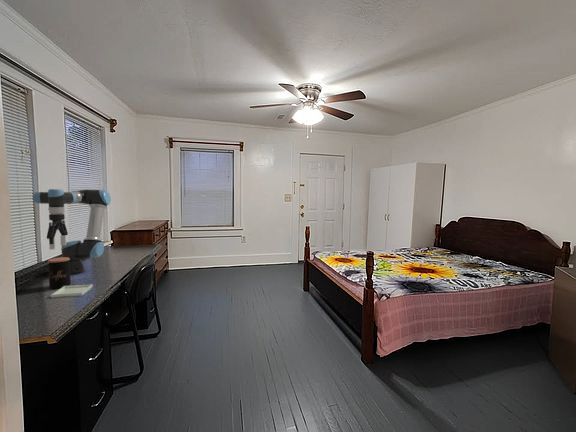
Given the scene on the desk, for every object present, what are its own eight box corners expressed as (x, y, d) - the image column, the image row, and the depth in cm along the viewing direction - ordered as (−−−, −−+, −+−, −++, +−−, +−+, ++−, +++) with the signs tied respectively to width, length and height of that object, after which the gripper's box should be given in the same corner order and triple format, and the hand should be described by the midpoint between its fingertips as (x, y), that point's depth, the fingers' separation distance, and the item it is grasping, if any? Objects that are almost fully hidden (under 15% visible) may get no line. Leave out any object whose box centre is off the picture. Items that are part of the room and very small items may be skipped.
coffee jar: (45, 290, 173) (44, 261, 171) (54, 284, 183) (53, 257, 181) (66, 288, 175) (64, 260, 174) (74, 283, 186) (72, 256, 184)
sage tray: (64, 288, 175) (63, 286, 175) (92, 287, 180) (92, 284, 179) (50, 297, 160) (50, 294, 160) (82, 295, 165) (82, 292, 164)
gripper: (59, 212, 186) (61, 244, 188) (38, 215, 162) (39, 251, 164) (73, 212, 188) (74, 243, 190) (53, 215, 164) (54, 250, 166)
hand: (58, 247), depth 177 cm, fingers open, 13 cm apart
